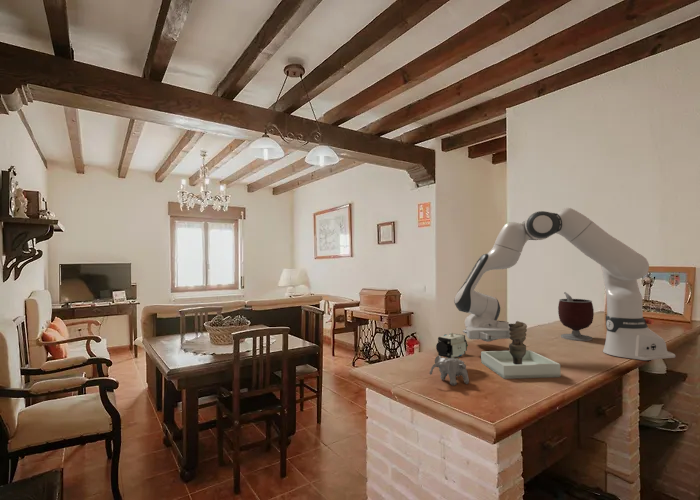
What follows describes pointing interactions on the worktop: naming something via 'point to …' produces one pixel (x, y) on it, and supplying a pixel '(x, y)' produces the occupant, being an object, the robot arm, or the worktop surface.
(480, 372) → the worktop surface
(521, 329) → the light bulb
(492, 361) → the tray
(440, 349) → the pneumatic valve
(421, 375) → the worktop surface
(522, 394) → the worktop surface
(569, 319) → the mate gourd
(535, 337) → the worktop surface
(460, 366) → the gray elephant figurine
